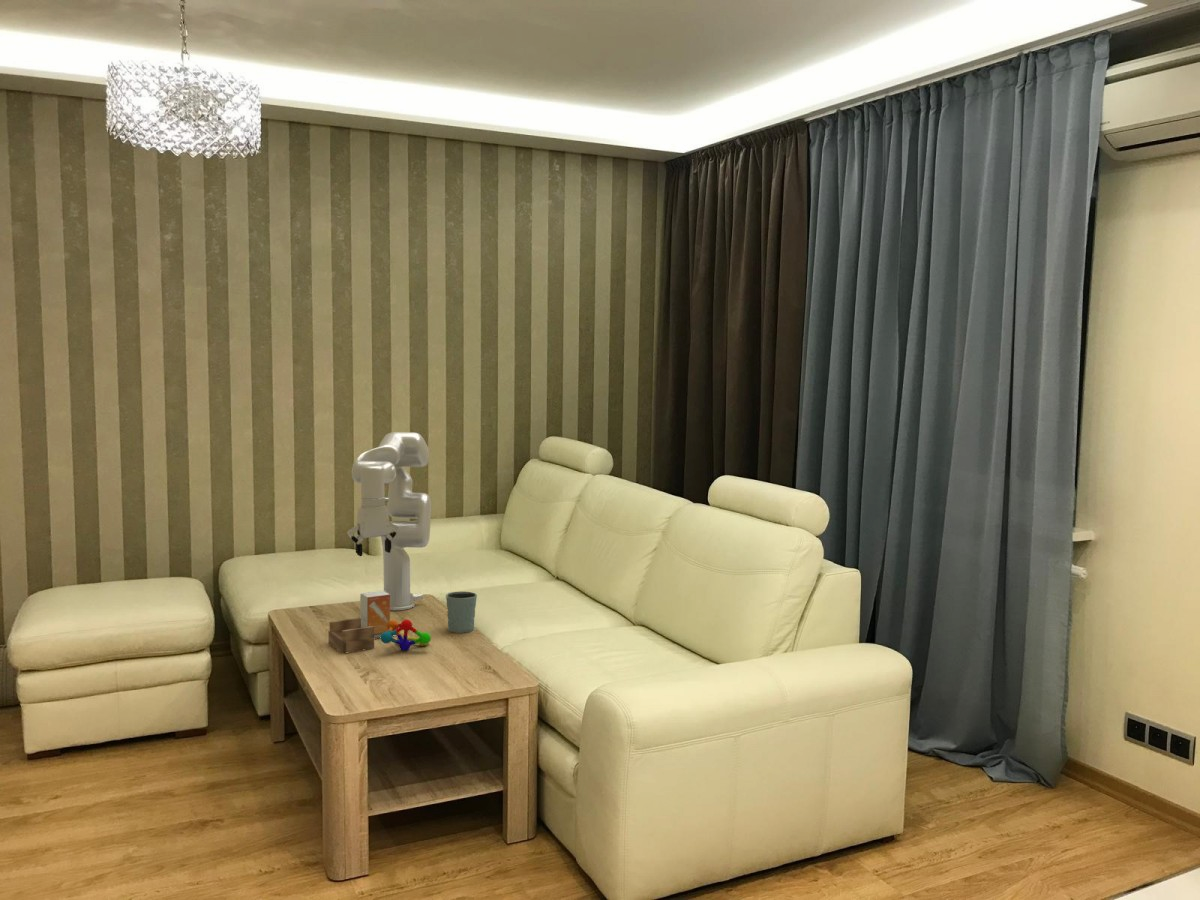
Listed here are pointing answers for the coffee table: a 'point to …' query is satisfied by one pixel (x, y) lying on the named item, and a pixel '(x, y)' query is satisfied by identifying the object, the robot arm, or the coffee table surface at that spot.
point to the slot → (350, 635)
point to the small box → (375, 610)
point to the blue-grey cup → (461, 611)
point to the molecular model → (404, 635)
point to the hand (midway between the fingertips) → (373, 553)
